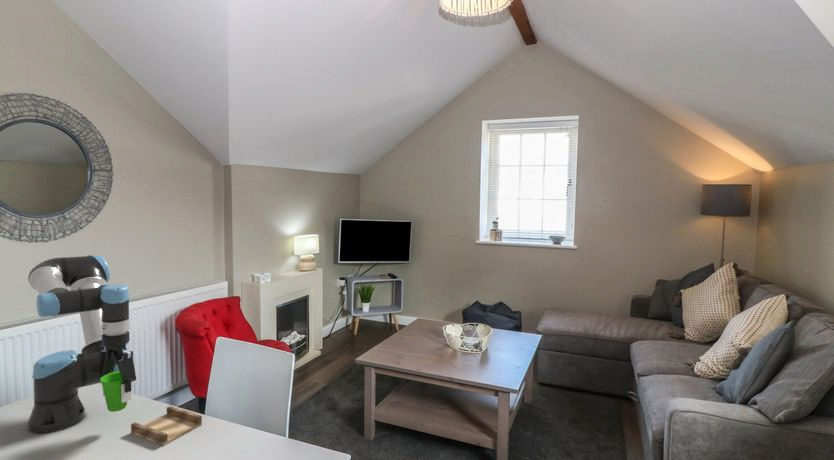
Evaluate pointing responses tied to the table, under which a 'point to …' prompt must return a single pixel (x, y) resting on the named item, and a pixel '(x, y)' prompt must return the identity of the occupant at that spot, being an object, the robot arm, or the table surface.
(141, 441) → the table surface
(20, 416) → the table surface
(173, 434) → the wooden tray
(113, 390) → the cup
